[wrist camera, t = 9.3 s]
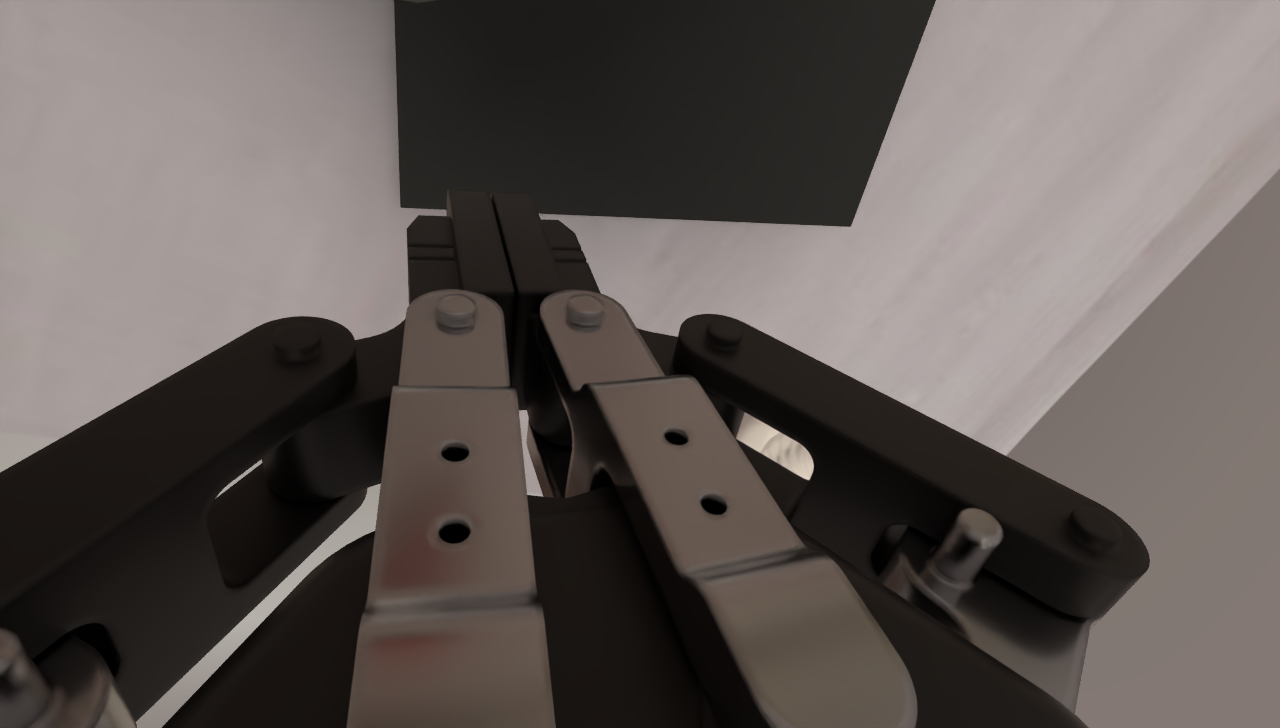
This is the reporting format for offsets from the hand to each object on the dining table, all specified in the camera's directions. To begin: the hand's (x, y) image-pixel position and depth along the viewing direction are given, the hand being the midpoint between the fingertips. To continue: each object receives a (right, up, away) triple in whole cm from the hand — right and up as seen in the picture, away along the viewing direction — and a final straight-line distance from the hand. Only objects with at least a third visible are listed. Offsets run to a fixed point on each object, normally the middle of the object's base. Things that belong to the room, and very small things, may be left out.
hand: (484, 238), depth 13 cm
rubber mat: (+4, +10, +16) cm, 19 cm away
